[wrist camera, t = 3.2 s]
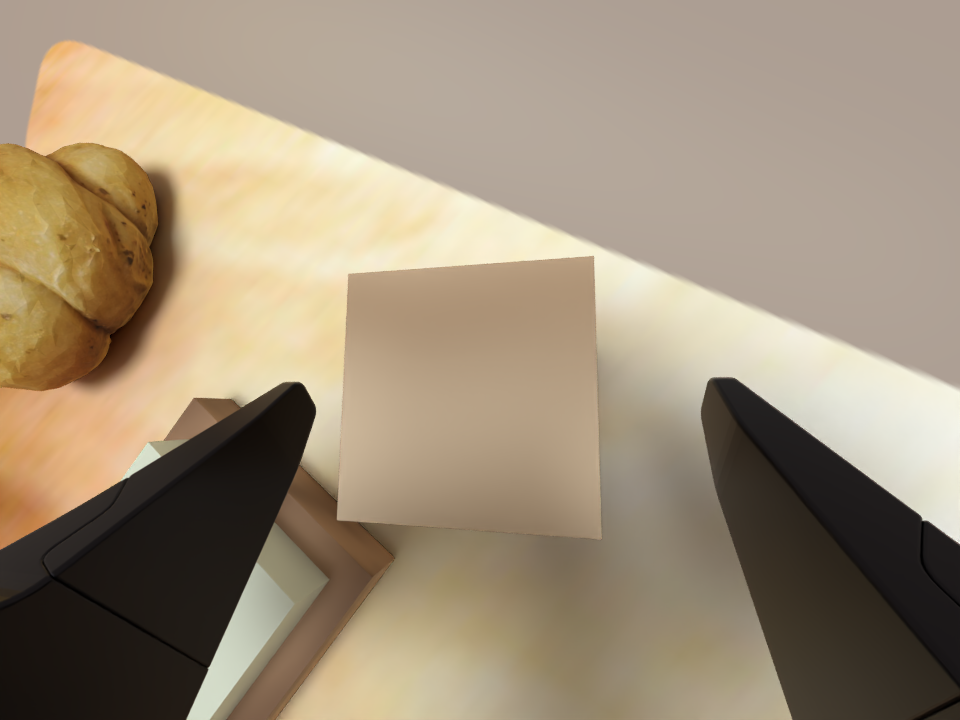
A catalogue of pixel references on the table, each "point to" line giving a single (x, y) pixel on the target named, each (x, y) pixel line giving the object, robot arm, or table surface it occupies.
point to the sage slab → (251, 612)
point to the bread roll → (69, 259)
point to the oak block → (473, 399)
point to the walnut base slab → (329, 546)
